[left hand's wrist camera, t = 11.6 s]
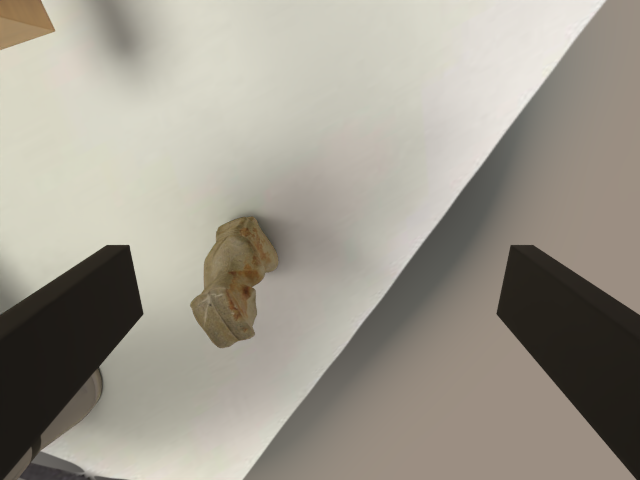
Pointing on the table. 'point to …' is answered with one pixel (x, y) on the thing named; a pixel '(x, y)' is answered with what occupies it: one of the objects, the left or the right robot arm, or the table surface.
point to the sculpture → (233, 281)
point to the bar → (22, 21)
